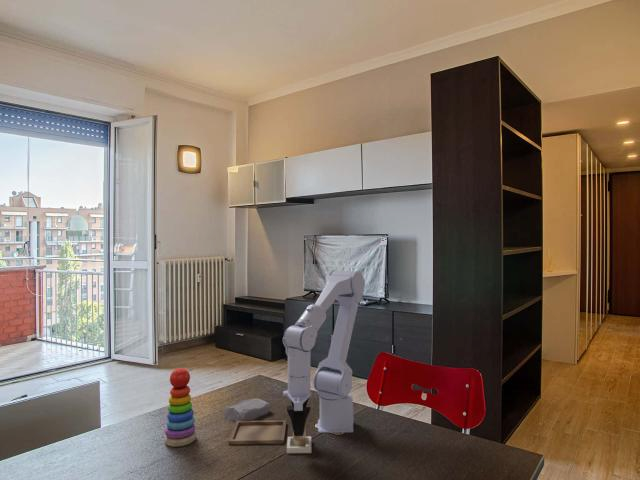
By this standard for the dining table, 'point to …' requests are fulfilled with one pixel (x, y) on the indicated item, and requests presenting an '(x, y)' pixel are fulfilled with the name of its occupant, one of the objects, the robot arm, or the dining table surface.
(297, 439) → the dowel
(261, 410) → the stone block
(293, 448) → the holder
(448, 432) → the dining table surface
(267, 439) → the tray
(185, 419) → the stacking toy
